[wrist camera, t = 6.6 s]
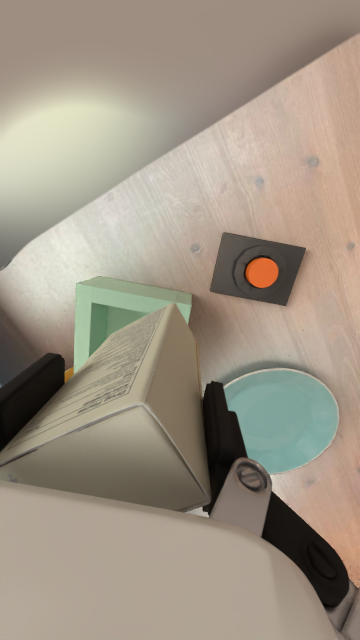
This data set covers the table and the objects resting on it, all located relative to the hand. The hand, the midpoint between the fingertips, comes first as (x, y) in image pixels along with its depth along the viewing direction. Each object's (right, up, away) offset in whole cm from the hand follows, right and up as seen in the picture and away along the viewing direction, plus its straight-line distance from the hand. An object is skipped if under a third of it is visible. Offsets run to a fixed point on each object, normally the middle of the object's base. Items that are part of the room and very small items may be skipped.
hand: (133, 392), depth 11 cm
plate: (+17, -13, +28) cm, 35 cm away
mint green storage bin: (-4, +3, +24) cm, 24 cm away
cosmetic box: (0, +2, +7) cm, 7 cm away
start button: (+13, +10, +17) cm, 24 cm away
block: (+13, +11, +20) cm, 26 cm away
